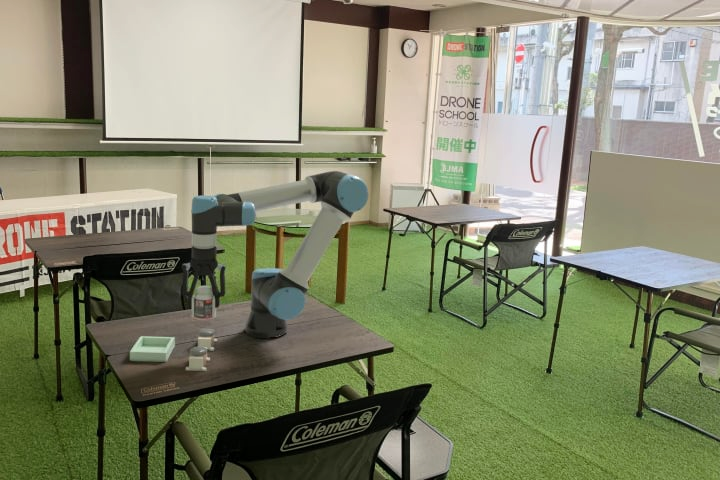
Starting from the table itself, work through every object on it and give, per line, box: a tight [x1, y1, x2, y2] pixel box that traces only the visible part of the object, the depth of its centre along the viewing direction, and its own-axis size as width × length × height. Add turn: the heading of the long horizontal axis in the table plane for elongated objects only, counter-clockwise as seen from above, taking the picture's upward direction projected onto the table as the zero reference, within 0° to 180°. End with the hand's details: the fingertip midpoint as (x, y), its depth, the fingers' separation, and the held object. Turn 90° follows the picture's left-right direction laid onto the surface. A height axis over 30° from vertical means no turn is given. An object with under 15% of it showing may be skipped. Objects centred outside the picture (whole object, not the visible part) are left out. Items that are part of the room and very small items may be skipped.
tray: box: [129, 335, 176, 363], centre depth 200 cm, size 11×13×3 cm
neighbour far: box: [198, 328, 216, 347], centre depth 209 cm, size 5×5×5 cm
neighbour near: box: [189, 346, 208, 367], centre depth 194 cm, size 5×5×5 cm
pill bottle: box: [194, 285, 214, 321], centre depth 198 cm, size 6×6×10 cm
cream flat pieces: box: [185, 336, 218, 372], centre depth 202 cm, size 6×24×4 cm, turn 5°
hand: (203, 316), depth 199 cm, fingers closed on pill bottle, 6 cm apart
